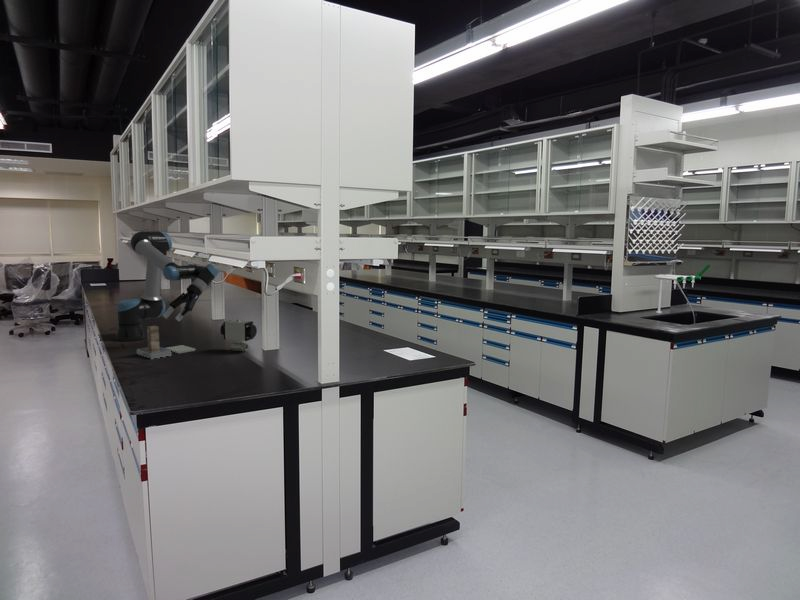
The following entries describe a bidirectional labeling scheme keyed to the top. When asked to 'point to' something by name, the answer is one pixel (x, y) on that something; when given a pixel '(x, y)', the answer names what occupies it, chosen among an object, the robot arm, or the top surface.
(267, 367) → the top surface
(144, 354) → the socket block
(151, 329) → the peg
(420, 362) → the top surface
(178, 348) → the pad
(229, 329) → the bench grinder
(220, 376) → the top surface
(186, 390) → the top surface
